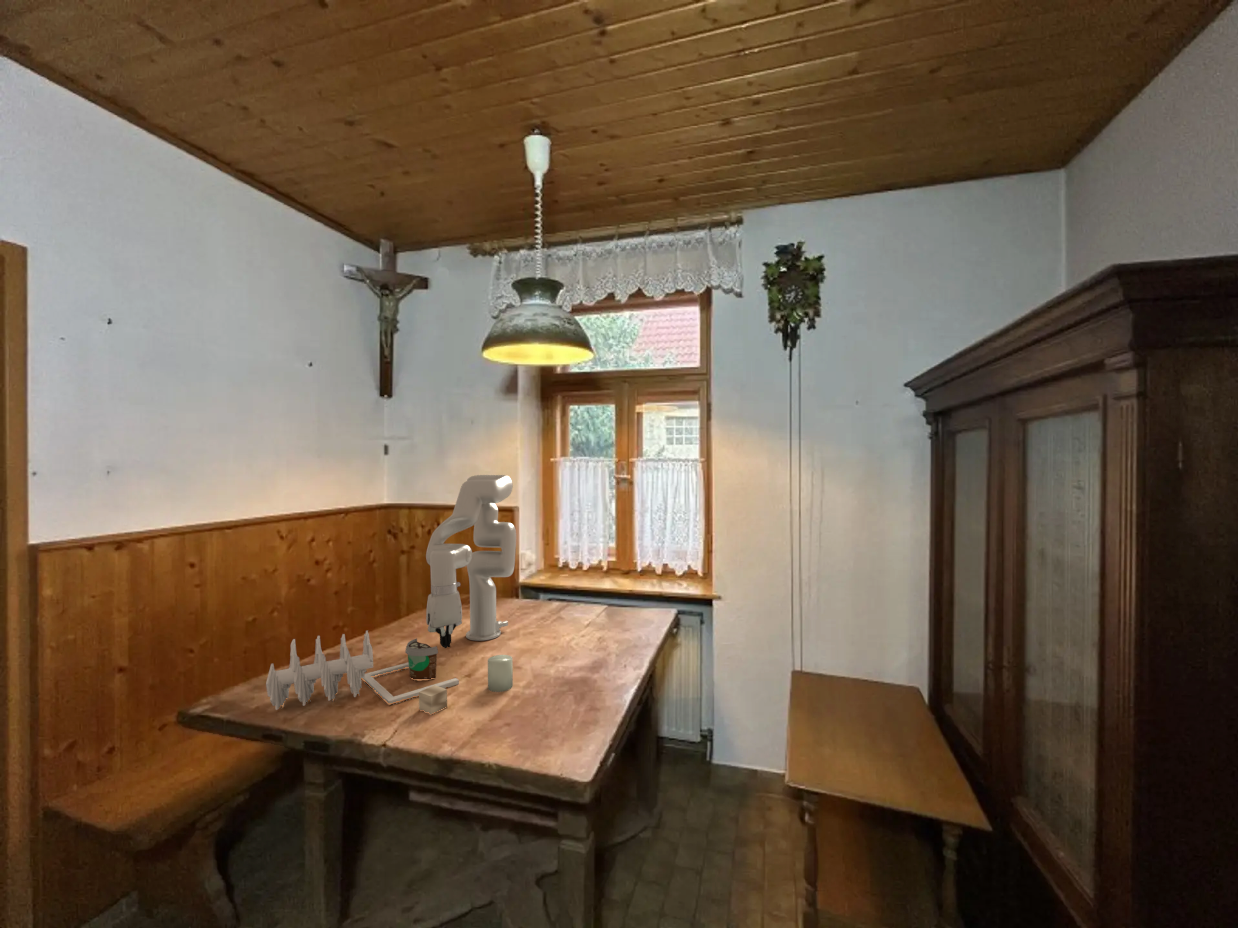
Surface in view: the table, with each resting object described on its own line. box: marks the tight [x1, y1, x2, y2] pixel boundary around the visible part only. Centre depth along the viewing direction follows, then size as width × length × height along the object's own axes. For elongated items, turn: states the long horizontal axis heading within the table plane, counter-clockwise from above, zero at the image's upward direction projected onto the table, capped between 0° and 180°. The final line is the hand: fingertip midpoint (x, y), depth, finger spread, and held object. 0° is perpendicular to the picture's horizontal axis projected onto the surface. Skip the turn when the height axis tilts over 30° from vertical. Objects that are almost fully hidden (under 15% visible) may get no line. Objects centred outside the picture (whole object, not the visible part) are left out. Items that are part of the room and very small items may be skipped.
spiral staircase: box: [265, 630, 374, 711], centre depth 146 cm, size 18×18×25 cm
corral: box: [362, 661, 460, 703], centre depth 158 cm, size 20×24×1 cm
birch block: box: [418, 684, 448, 714], centre depth 140 cm, size 5×5×5 cm
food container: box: [404, 638, 439, 679], centre depth 161 cm, size 12×6×10 cm, turn 51°
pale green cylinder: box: [487, 654, 514, 693], centre depth 154 cm, size 7×7×8 cm
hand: (445, 646), depth 167 cm, fingers closed
